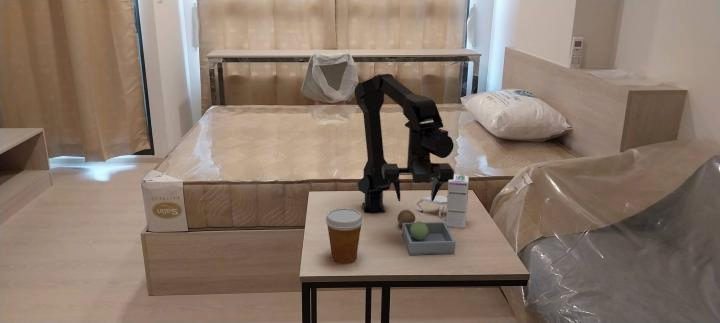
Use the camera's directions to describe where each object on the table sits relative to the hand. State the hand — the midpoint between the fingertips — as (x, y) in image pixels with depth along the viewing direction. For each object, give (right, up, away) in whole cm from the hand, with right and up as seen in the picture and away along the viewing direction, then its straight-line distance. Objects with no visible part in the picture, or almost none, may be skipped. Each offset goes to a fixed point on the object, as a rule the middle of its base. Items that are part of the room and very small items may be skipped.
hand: (415, 200), depth 146 cm
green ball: (+1, -11, 0) cm, 11 cm away
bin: (+3, -12, -1) cm, 12 cm away
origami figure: (+8, -5, +18) cm, 21 cm away
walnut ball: (-2, -8, +9) cm, 12 cm away
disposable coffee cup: (-19, -14, -9) cm, 25 cm away
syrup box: (+13, -8, +11) cm, 19 cm away
